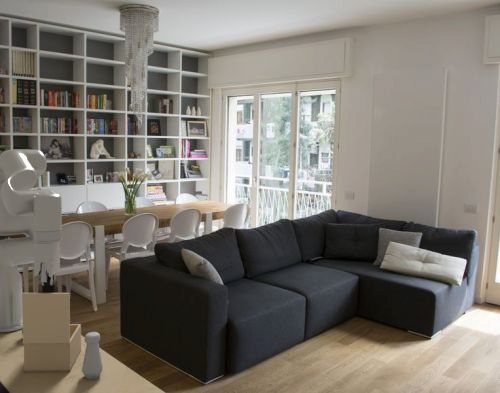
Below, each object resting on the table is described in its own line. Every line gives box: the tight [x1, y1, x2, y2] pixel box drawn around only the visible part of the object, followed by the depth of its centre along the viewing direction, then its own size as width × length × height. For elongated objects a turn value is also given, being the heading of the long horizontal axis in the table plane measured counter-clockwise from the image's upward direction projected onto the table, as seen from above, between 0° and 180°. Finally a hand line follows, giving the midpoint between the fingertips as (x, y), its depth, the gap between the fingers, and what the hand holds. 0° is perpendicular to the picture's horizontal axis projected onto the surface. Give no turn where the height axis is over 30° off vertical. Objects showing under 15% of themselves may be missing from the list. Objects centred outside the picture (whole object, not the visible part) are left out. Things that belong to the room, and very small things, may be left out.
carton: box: [23, 323, 82, 373], centre depth 150 cm, size 14×13×9 cm
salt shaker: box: [81, 331, 104, 381], centre depth 141 cm, size 6×6×13 cm
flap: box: [22, 292, 71, 344], centre depth 141 cm, size 15×13×1 cm
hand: (49, 297), depth 142 cm, fingers closed
